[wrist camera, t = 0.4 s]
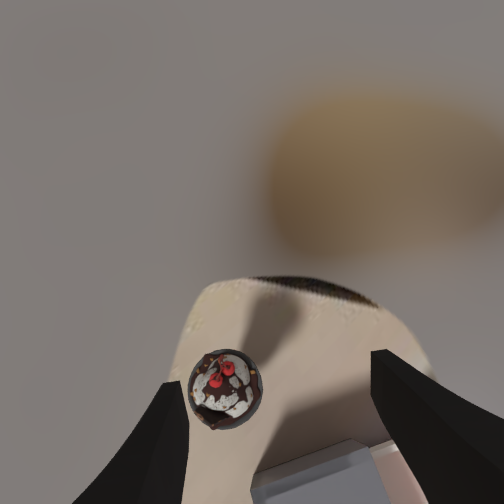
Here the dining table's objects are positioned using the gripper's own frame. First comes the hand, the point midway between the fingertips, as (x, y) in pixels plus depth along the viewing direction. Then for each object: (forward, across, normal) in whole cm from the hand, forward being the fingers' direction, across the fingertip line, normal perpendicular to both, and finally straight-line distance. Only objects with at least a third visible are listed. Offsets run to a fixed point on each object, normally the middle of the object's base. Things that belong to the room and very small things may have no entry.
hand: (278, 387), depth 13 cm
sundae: (+22, +3, +19) cm, 30 cm away
